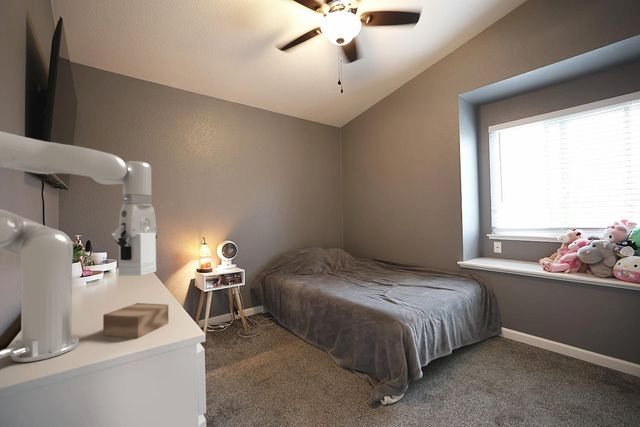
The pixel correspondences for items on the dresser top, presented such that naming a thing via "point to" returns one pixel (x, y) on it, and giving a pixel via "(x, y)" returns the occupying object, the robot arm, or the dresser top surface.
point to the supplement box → (139, 256)
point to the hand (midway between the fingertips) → (137, 257)
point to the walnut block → (135, 320)
